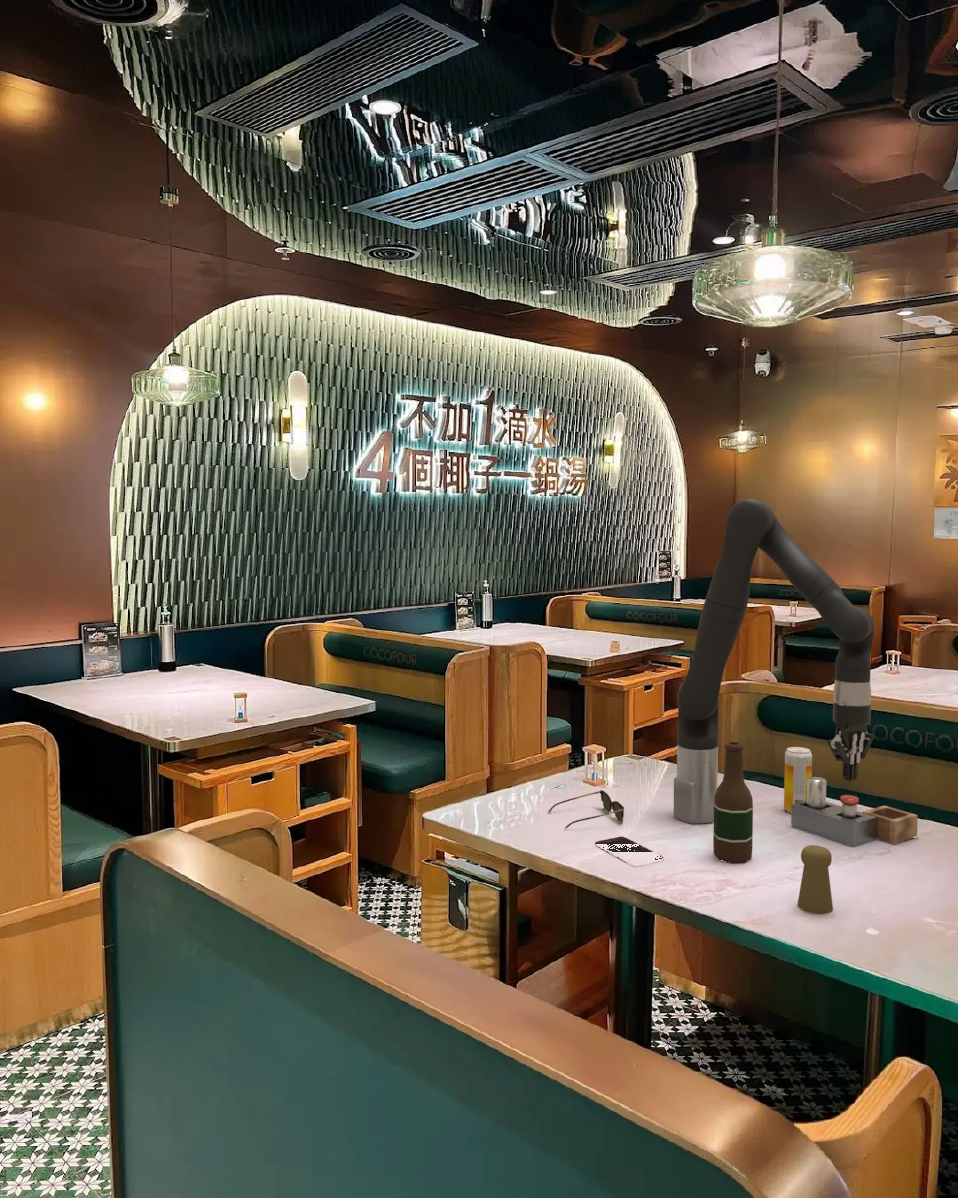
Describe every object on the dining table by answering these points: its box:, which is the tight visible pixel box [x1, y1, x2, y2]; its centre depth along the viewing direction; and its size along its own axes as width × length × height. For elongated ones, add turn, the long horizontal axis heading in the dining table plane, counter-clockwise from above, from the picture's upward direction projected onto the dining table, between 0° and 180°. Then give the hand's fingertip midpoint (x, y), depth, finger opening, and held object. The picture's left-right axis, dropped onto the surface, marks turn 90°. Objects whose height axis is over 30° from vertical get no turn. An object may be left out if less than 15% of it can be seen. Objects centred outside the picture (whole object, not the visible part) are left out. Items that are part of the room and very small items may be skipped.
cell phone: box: [594, 836, 664, 860], centre depth 192 cm, size 8×15×1 cm, turn 27°
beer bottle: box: [712, 741, 754, 864], centre depth 188 cm, size 8×8×24 cm
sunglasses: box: [547, 789, 625, 829], centre depth 214 cm, size 14×15×5 cm
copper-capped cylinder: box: [840, 794, 859, 820], centre depth 199 cm, size 4×4×6 cm
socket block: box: [790, 801, 877, 848], centre depth 202 cm, size 8×16×5 cm, turn 32°
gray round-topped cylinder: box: [807, 776, 827, 810], centre depth 206 cm, size 4×4×11 cm
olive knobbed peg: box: [797, 844, 834, 915], centre depth 164 cm, size 6×6×11 cm
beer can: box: [783, 746, 813, 815], centre depth 217 cm, size 6×6×15 cm
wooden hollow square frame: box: [861, 805, 918, 845], centre depth 200 cm, size 8×8×5 cm
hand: (850, 779), depth 198 cm, fingers closed
